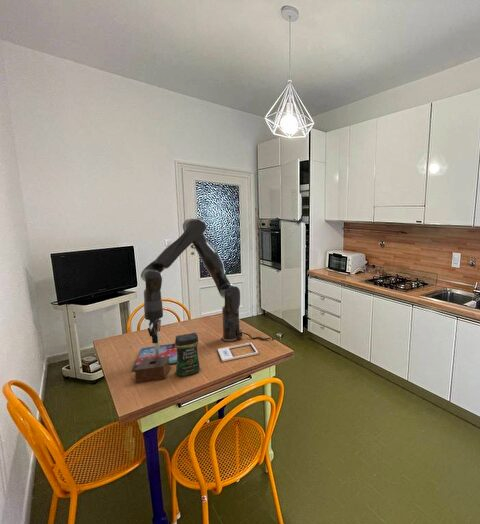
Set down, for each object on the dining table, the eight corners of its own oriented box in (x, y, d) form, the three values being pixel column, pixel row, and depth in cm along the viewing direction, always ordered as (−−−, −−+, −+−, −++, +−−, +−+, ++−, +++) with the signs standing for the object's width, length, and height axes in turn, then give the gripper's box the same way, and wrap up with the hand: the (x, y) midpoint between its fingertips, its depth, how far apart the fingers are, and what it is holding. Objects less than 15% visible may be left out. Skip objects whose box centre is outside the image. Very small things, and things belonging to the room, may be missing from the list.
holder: (169, 367, 141) (168, 355, 140) (164, 378, 131) (163, 366, 130) (143, 370, 137) (142, 358, 136) (135, 382, 127) (134, 369, 126)
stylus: (159, 358, 148) (160, 331, 146) (158, 359, 146) (159, 333, 145) (155, 358, 147) (156, 331, 146) (154, 359, 146) (155, 333, 144)
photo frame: (217, 348, 159) (251, 342, 169) (217, 350, 160) (251, 344, 169) (222, 359, 147) (258, 352, 157) (222, 361, 147) (258, 354, 157)
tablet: (133, 371, 136) (132, 369, 136) (141, 349, 158) (141, 348, 158) (180, 362, 145) (180, 361, 145) (182, 343, 167) (182, 342, 167)
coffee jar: (177, 379, 131) (175, 339, 128) (175, 371, 137) (173, 333, 135) (201, 372, 137) (199, 335, 134) (198, 365, 143) (196, 329, 141)
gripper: (158, 312, 138) (160, 346, 141) (165, 304, 151) (167, 336, 153) (139, 313, 136) (142, 348, 138) (148, 305, 148) (151, 337, 151)
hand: (155, 342), depth 146 cm, fingers closed on stylus, 1 cm apart
